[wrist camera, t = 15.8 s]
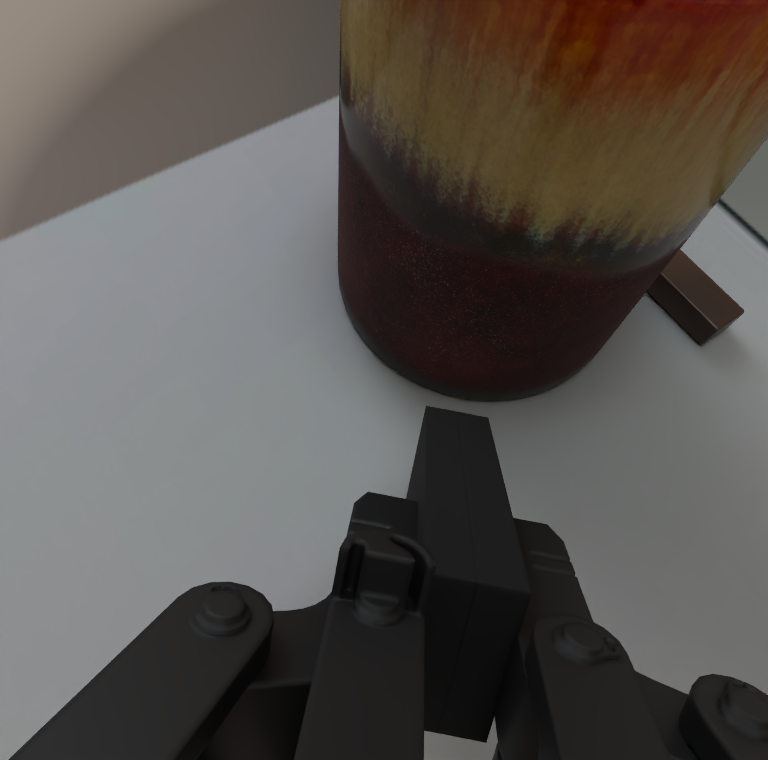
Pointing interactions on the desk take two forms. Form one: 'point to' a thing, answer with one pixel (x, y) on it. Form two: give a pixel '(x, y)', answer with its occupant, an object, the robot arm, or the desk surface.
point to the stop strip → (694, 299)
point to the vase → (530, 172)
